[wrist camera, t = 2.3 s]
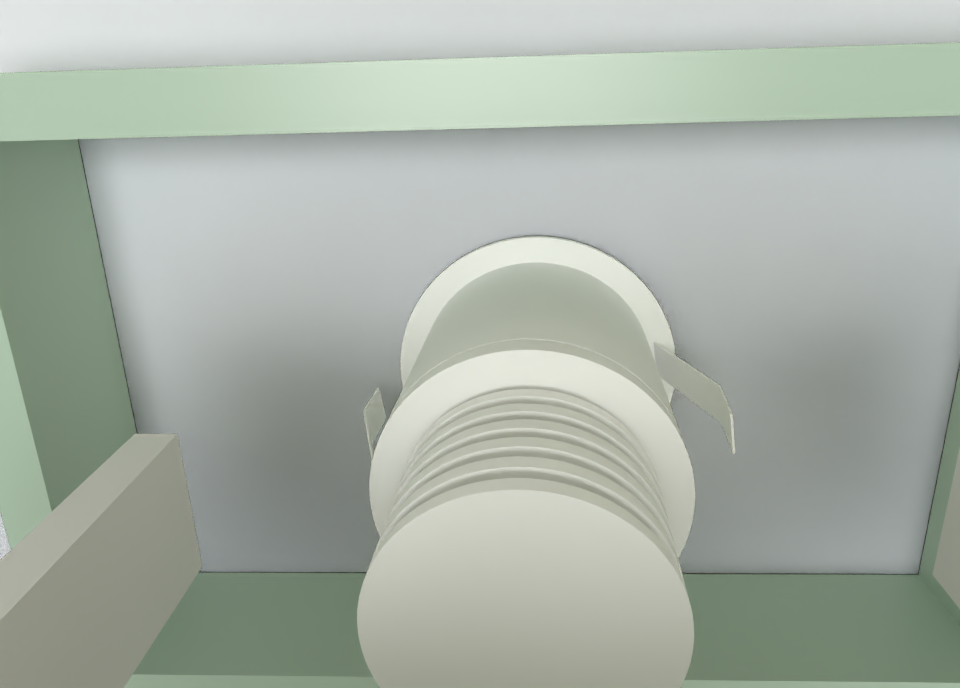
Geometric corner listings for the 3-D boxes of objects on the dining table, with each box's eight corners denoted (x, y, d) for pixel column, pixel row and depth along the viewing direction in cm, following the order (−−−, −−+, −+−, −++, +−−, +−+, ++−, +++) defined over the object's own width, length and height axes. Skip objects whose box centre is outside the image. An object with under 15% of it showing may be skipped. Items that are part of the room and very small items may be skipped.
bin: (132, 606, 23) (56, 711, 19) (14, 76, 18) (-121, 77, 14) (955, 610, 21) (1049, 724, 18) (1080, 43, 16) (1249, 32, 13)
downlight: (681, 209, 18) (822, 363, 9) (702, 468, 20) (832, 811, 11) (360, 258, 19) (175, 439, 10) (414, 497, 21) (306, 831, 12)
